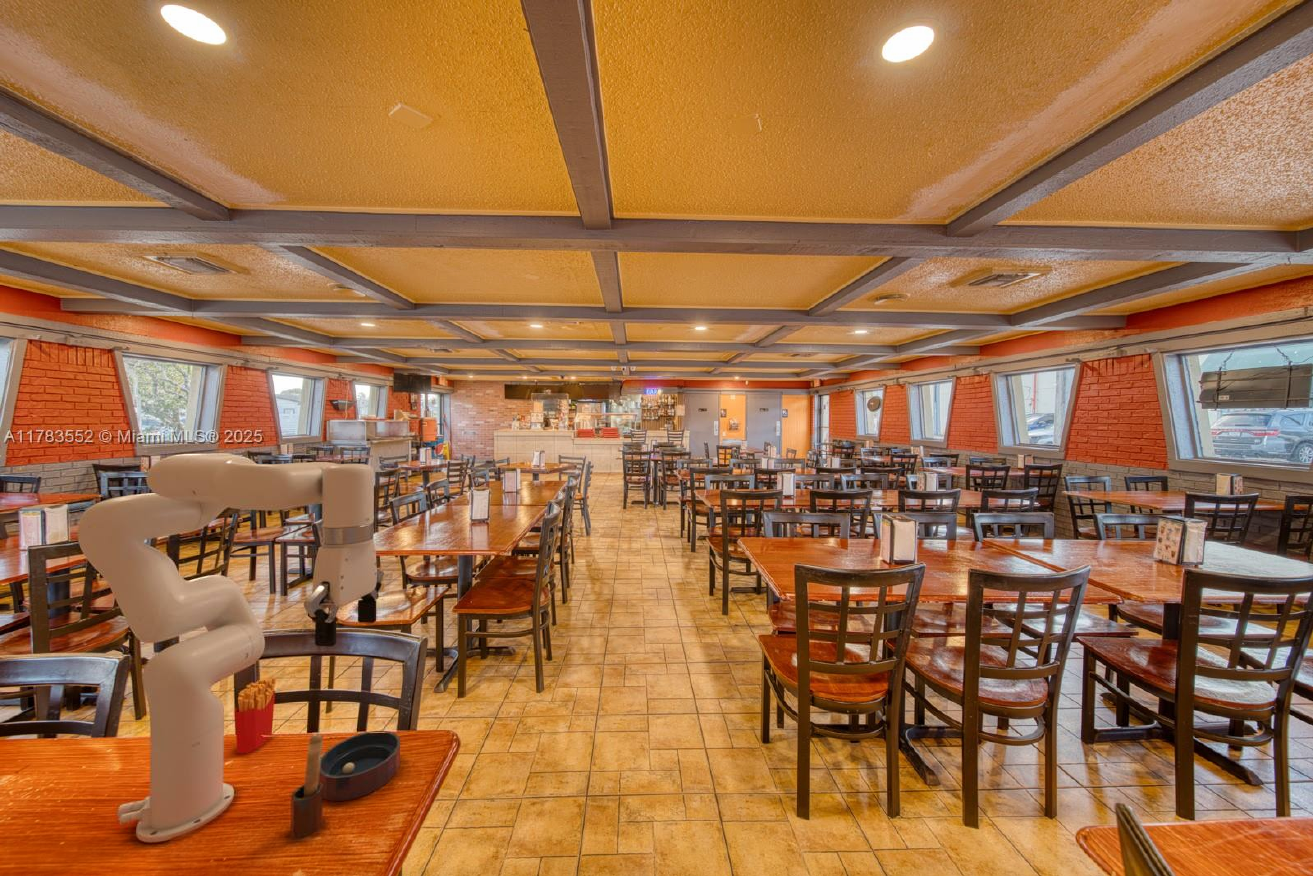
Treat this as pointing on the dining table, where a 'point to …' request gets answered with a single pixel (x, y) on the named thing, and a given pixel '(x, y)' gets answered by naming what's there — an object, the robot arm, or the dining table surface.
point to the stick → (313, 765)
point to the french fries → (254, 715)
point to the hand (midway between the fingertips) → (347, 633)
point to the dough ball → (348, 768)
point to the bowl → (359, 765)
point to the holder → (306, 812)
